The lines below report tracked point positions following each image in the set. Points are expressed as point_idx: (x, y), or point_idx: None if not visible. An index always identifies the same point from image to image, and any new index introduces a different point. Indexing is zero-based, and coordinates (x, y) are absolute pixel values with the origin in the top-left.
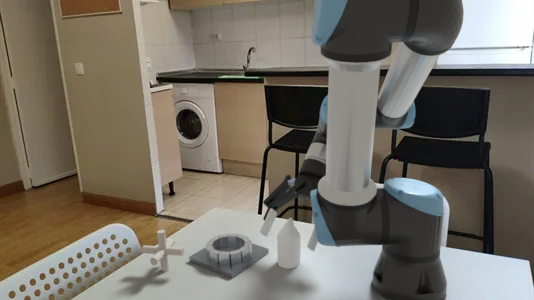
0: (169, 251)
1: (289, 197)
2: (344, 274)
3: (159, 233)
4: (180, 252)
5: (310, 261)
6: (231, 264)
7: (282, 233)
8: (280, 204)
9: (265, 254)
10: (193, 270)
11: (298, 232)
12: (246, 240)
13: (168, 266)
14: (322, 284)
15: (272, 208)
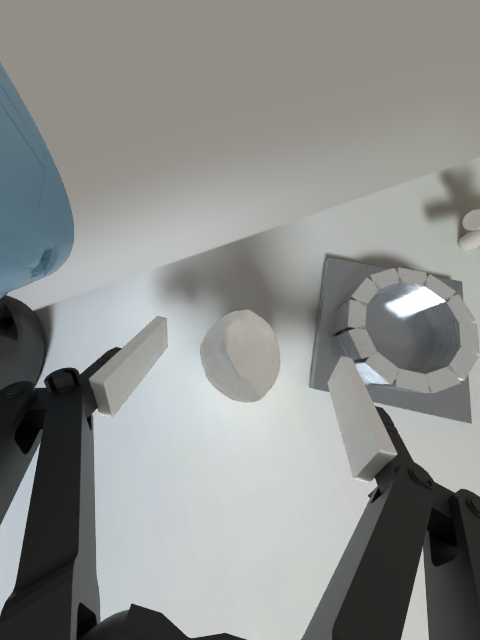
0: None
1: (334, 597)
2: None
3: None
4: (474, 210)
5: (195, 386)
6: (352, 286)
7: (248, 310)
8: (366, 519)
9: (311, 374)
10: (413, 260)
11: (205, 362)
12: (379, 361)
13: (467, 240)
14: (147, 305)
15: (389, 471)
